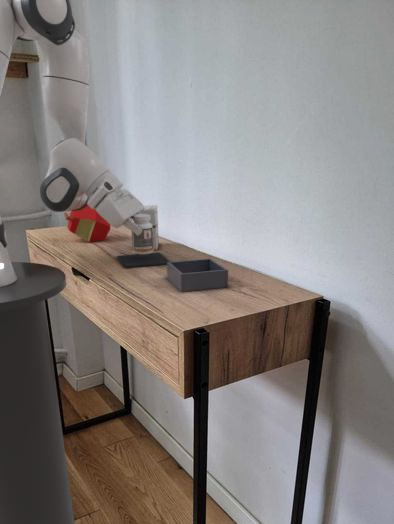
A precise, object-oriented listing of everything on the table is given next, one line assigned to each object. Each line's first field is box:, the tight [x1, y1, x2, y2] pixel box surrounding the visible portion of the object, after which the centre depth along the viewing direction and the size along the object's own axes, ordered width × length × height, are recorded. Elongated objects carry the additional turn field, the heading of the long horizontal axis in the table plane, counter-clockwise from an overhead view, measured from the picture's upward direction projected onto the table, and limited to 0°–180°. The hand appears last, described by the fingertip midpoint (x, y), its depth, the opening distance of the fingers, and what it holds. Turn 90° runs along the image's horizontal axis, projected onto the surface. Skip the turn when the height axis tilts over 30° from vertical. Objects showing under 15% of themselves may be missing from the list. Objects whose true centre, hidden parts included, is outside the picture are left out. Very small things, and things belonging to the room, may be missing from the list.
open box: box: [166, 258, 229, 293], centre depth 113 cm, size 11×11×4 cm
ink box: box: [141, 204, 160, 250], centre depth 145 cm, size 8×5×12 cm, turn 0°
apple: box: [63, 205, 111, 243], centre depth 154 cm, size 12×12×15 cm
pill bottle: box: [131, 214, 154, 255], centre depth 129 cm, size 6×6×10 cm
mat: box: [116, 252, 170, 269], centre depth 132 cm, size 12×12×1 cm
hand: (144, 230), depth 128 cm, fingers closed on pill bottle, 6 cm apart
